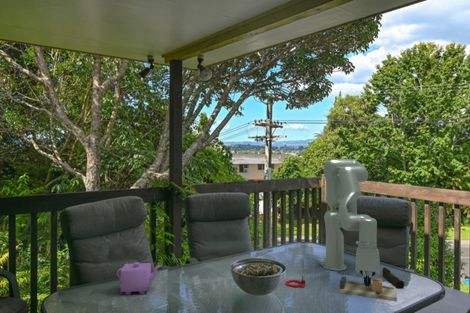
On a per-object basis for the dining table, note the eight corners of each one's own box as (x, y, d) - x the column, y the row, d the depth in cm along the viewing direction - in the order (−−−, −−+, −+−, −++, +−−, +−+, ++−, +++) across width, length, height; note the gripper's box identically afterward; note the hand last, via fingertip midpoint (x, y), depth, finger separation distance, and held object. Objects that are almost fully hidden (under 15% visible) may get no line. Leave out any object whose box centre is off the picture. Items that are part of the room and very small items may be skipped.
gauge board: (338, 292, 160) (338, 282, 160) (341, 283, 171) (341, 274, 171) (396, 301, 151) (396, 290, 151) (395, 291, 162) (395, 281, 162)
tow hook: (284, 287, 167) (304, 288, 165) (283, 259, 167) (303, 260, 165) (286, 281, 175) (305, 282, 173) (285, 255, 175) (304, 256, 173)
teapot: (114, 295, 155) (114, 267, 154) (119, 287, 165) (119, 260, 165) (161, 293, 157) (161, 265, 157) (163, 285, 167) (163, 258, 167)
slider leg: (372, 292, 156) (372, 283, 156) (372, 286, 163) (372, 277, 163) (382, 293, 155) (382, 284, 155) (382, 287, 162) (382, 278, 162)
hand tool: (404, 289, 165) (405, 279, 165) (396, 289, 166) (396, 279, 165) (388, 275, 184) (388, 266, 184) (380, 275, 184) (380, 266, 184)
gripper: (349, 245, 160) (349, 285, 161) (385, 248, 155) (385, 291, 155) (351, 241, 167) (350, 280, 167) (385, 244, 162) (385, 285, 162)
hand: (367, 285), depth 161 cm, fingers closed
